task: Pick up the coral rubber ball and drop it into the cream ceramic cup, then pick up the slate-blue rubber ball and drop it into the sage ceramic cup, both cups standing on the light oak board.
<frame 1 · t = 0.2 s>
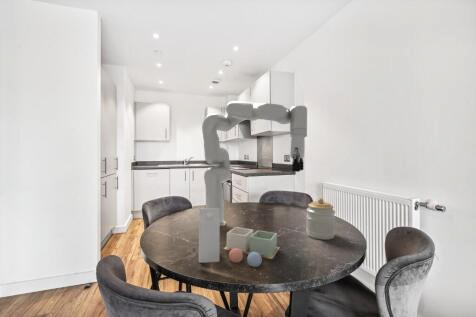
hand: (298, 170, 104), 31 cm above the table, fingers open, 9 cm apart
coral ball: (235, 262, 80), on the table
jar: (320, 235, 108), on the table
milk carton: (209, 261, 81), on the table
slate ball: (254, 267, 77), on the table
cream cup: (240, 245, 92), resting on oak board
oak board: (251, 251, 90), on the table
sage cup: (263, 250, 88), resting on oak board
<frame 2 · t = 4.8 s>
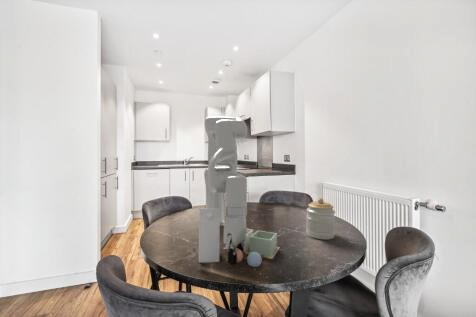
hand: (235, 261, 80), 1 cm above the table, fingers closed on coral ball, 4 cm apart
coral ball: (235, 262, 80), on the table, touching gripper
everything else where it was.
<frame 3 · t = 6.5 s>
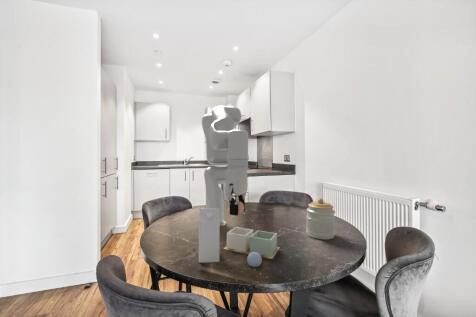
hand: (237, 212, 83), 17 cm above the table, fingers closed on coral ball, 4 cm apart
coral ball: (237, 214, 83), point 16 cm above the table, touching gripper
everything else where it was.
when the fingers open (9 cm above the table, at t = 8.6 s): coral ball drops 8 cm, resting on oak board.
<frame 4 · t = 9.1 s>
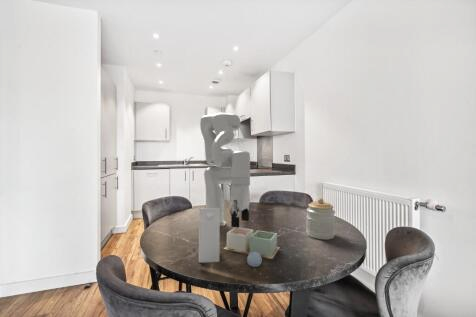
hand: (240, 223, 92), 10 cm above the table, fingers open, 9 cm apart
coral ball: (240, 245, 92), point 1 cm above the table, touching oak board
everything else where it was.
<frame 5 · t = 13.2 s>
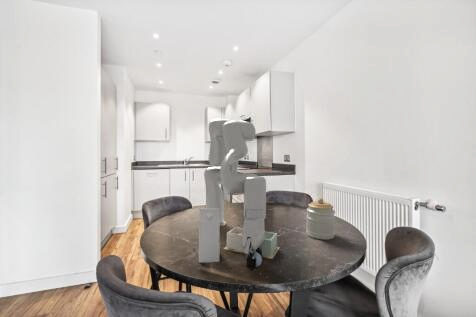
hand: (254, 265, 77), 1 cm above the table, fingers closed on slate ball, 4 cm apart
slate ball: (254, 267, 77), on the table, touching gripper
everything else where it was.
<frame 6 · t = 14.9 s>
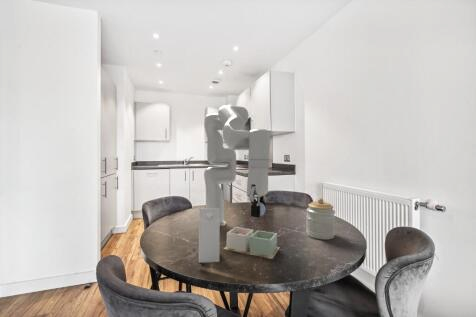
hand: (258, 214, 81), 17 cm above the table, fingers closed on slate ball, 4 cm apart
slate ball: (258, 216, 81), point 16 cm above the table, touching gripper
everything else where it was.
when the fingers open (9 cm above the table, at t = 16.9 s): slate ball drops 8 cm, resting on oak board.
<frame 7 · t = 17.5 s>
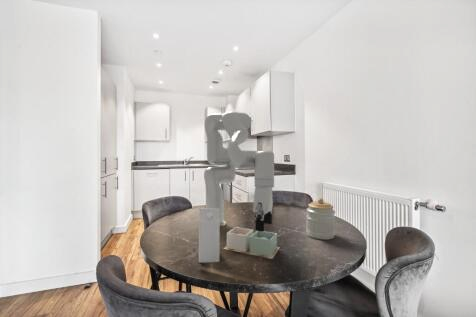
hand: (263, 227, 87), 10 cm above the table, fingers open, 9 cm apart
slate ball: (263, 250, 88), point 1 cm above the table, touching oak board
everything else where it was.
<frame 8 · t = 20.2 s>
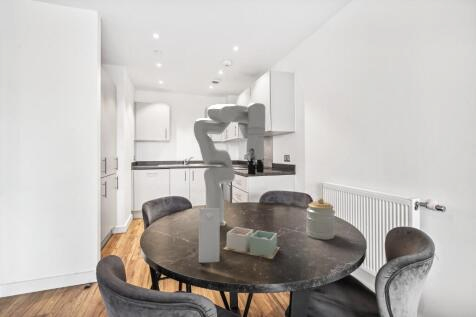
hand: (256, 173, 96), 30 cm above the table, fingers open, 9 cm apart
nothing on the table moved.
at the end: coral ball 0.0 cm off-centre on the cream cup, point 0.0 cm above the cream cup's base; slate ball 0.0 cm off-centre on the sage cup, point 0.0 cm above the sage cup's base; the gripper is holding nothing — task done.
